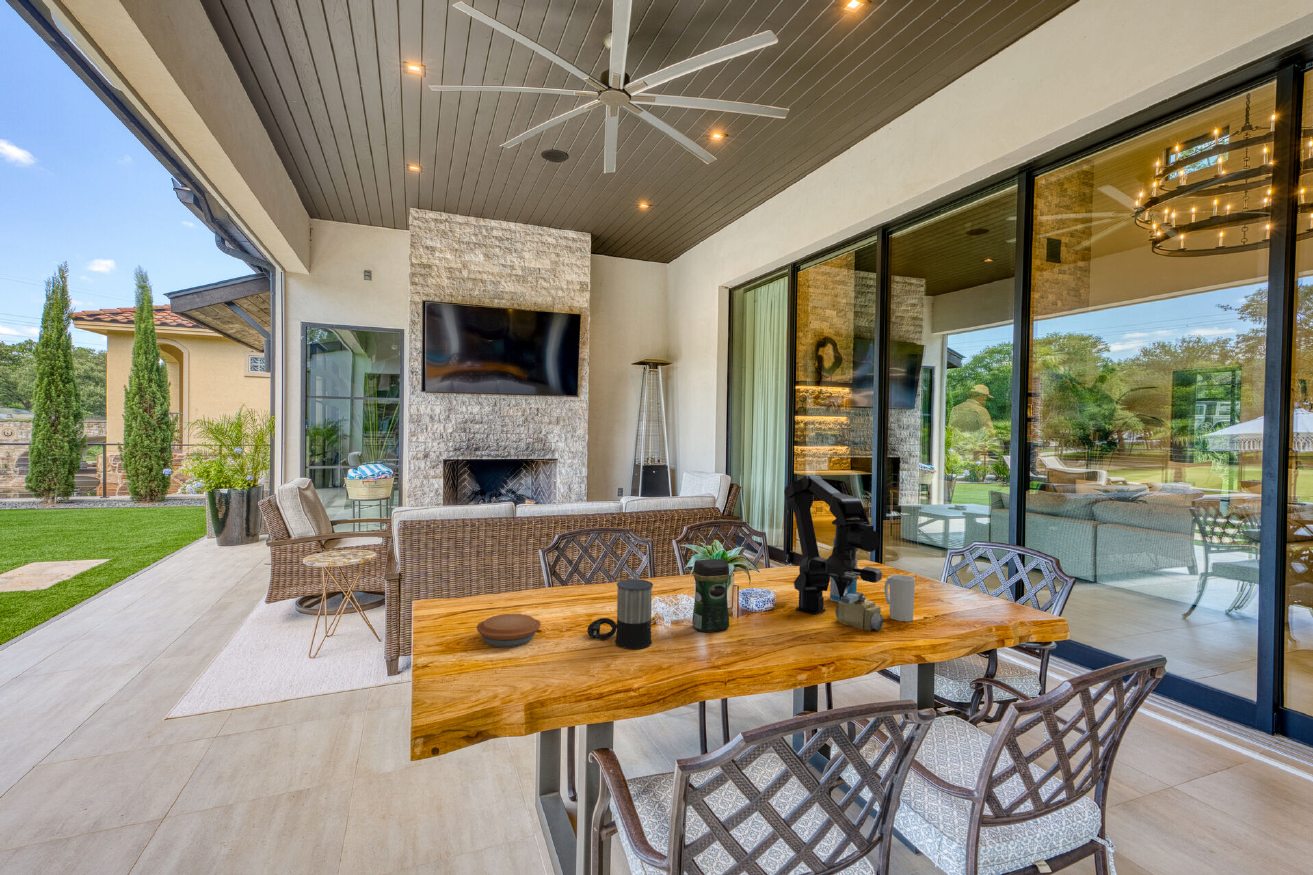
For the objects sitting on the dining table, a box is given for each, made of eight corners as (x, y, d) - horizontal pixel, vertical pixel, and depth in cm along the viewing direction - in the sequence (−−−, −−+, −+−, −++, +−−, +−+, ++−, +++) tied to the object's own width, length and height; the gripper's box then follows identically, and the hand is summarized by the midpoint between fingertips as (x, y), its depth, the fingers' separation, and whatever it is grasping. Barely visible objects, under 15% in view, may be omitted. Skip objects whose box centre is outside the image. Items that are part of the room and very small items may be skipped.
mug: (919, 620, 165) (920, 579, 165) (901, 623, 163) (902, 581, 163) (893, 610, 175) (894, 571, 175) (875, 612, 172) (876, 572, 172)
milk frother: (654, 649, 138) (656, 588, 138) (588, 651, 136) (590, 589, 136) (646, 629, 152) (647, 573, 152) (586, 631, 150) (588, 574, 150)
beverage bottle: (831, 603, 181) (832, 540, 181) (827, 596, 190) (829, 535, 190) (859, 605, 180) (860, 541, 180) (854, 597, 188) (855, 537, 188)
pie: (517, 655, 133) (518, 633, 133) (462, 645, 138) (463, 624, 138) (552, 634, 147) (552, 614, 147) (501, 626, 153) (501, 607, 153)
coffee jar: (719, 621, 160) (720, 555, 160) (733, 630, 153) (734, 561, 153) (687, 624, 157) (689, 557, 157) (700, 634, 150) (702, 563, 150)
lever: (839, 605, 155) (839, 596, 155) (856, 598, 163) (856, 589, 163) (850, 608, 153) (850, 599, 153) (867, 600, 161) (867, 591, 161)
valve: (833, 620, 163) (834, 598, 163) (845, 617, 167) (846, 594, 167) (873, 632, 154) (873, 608, 154) (884, 628, 158) (885, 604, 158)
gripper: (801, 541, 156) (797, 598, 157) (871, 553, 145) (866, 615, 145) (817, 536, 165) (813, 590, 165) (884, 548, 154) (880, 606, 154)
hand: (841, 600), depth 157 cm, fingers closed
